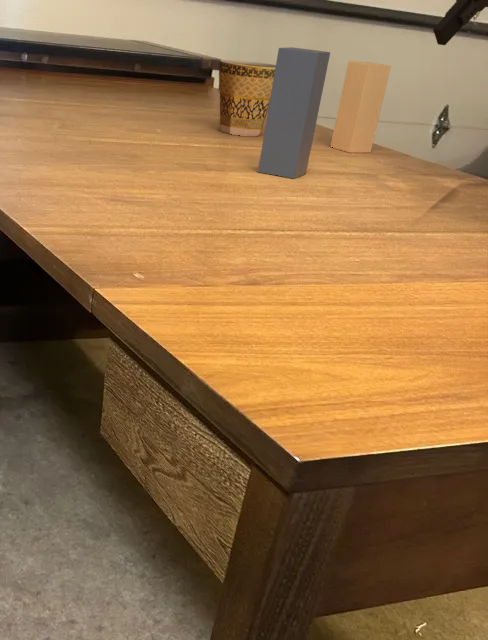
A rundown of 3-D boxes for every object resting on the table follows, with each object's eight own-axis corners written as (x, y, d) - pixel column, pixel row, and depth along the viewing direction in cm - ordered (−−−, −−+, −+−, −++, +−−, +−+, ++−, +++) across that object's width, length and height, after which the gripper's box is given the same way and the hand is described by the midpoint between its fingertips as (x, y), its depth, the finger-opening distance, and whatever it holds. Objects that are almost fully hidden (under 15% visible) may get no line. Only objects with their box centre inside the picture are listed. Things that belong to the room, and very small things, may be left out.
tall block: (350, 147, 132) (370, 62, 125) (370, 152, 129) (391, 65, 122) (330, 147, 130) (348, 60, 123) (349, 152, 127) (369, 64, 120)
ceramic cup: (267, 141, 130) (279, 69, 124) (205, 132, 131) (214, 61, 126) (275, 130, 140) (286, 64, 135) (218, 123, 142) (227, 57, 136)
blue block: (270, 167, 110) (291, 47, 102) (306, 174, 108) (330, 52, 100) (257, 172, 106) (278, 47, 98) (294, 179, 104) (318, 52, 97)
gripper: (590, -60, 123) (478, 62, 125) (518, -61, 132) (415, 53, 134) (582, -109, 117) (465, 19, 119) (508, -107, 127) (400, 12, 129)
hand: (439, 37), depth 127 cm, fingers closed
